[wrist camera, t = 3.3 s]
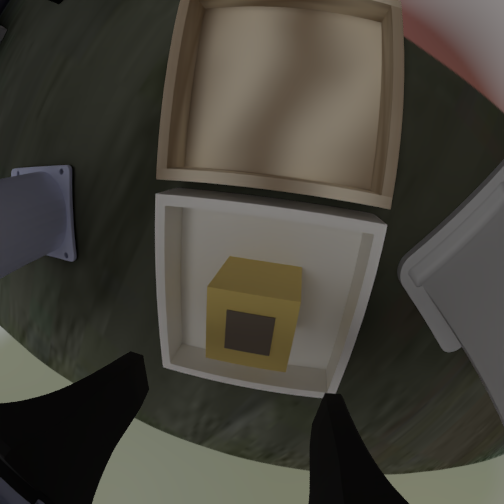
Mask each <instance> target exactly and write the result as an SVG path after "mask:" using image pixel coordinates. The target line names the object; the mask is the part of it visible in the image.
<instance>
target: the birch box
mask: <svg viewBox="0 0 504 504" xmlns="http://www.w3.org/2000/svg"><path fill="white" fill-rule="evenodd" d="M403 96H404V37H403V20H402V8H401V1H399V0H180V3H179V8H178V12H177V17H176V21H175V26H174V31H173V36H172V42H171V47H170V53H169V59H168V65H167V71H166V78H165V86H164V93H163V101H162V110H161V120H160V130H159V142H158V156H157V173H156V179H162V180H177V181H190V182H202V183H213V184H223V185H233V186H242V187H251V188H260V189H268V190H275V191H283V192H290V193H297V194H304V195H311V196H318V197H324V198H330V199H336V200H342V201H348V202H354V203H359V204H365V205H370V206H375V207H381V208H386V209H391V203H392V198H393V192H394V185H395V179H396V172H397V164H398V157H399V148H400V138H401V127H402V114H403Z"/></svg>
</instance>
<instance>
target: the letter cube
mask: <svg viewBox="0 0 504 504" xmlns="http://www.w3.org/2000/svg"><path fill="white" fill-rule="evenodd" d="M301 288H302V267H299V266H292V265H285V264H279V263H272V262H266V261H259V260H253V259H246V258H240V257H233V256H229V257H228V259H227V260H226V262H225V263H224V264H223V266H222V267H221V268H220V270H219V271H218V272H217V274H216V275H215V277H214V278H213V279H212V281H211V282H210V283H209V285H208V286H207V307H206V358H210V359H215V360H219V361H224V362H229V363H234V364H239V365H244V366H249V367H255V368H261V369H266V370H273V371H279V372H286V369H287V365H288V360H289V356H290V352H291V347H292V343H293V338H294V334H295V329H296V324H297V320H298V315H299V310H300V305H301Z"/></svg>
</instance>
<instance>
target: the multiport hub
mask: <svg viewBox="0 0 504 504" xmlns="http://www.w3.org/2000/svg"><path fill="white" fill-rule="evenodd" d="M50 1H52V2H55V3H57V4H60V3H61V2H62V1H63V0H50Z"/></svg>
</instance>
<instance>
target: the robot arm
mask: <svg viewBox="0 0 504 504" xmlns="http://www.w3.org/2000/svg"><path fill="white" fill-rule="evenodd" d="M44 255H48V256H51V257H55V258H59V259H63V260H67V261H70V262H73V261H75V260H76V258H77V255H76V246H75V235H74V221H73V201H72V168H71V166H70V165H55V166H38V167H24V168H14V169H13V170H12V172H11V177H8V178H3V179H0V278H2V277H4V276H6V275H8V274H10V273H11V272H13V271H15V270H17V269H19V268H21V267H23V266H25V265H27V264H29V263H31V262H32V261H34V260H36V259H38V258H40V257H42V256H44ZM148 390H149V386H148V381H147V376H146V370H145V364H144V358H143V355H140V354H137V353H134V352H131V351H130V352H129V353H127V354H125V355H123V356H122V357H120V358H118V359H117V360H115V361H113V362H112V363H110V364H108V365H107V366H105V367H103V368H102V369H100V370H98V371H96V372H95V373H93V374H91V375H89V376H87V377H85V378H83V379H81V380H79V381H77V382H75V383H73V384H71V385H69V386H67V387H65V388H62V389H60V390H57V391H55V392H52V393H49V394H46V395H43V396H40V397H35V398H32V399H28V400H23V401H17V402H10V403H0V504H92V501H93V498H94V495H95V492H96V489H97V487H98V484H99V481H100V479H101V476H102V474H103V471H104V469H105V467H106V465H107V463H108V460H109V458H110V456H111V454H112V452H113V450H114V448H115V447H116V445H117V443H118V442H119V440H120V438H121V437H122V436H123V434H124V433H125V431H126V430H127V428H128V426H129V425H130V423H131V422H132V420H133V419H134V417H135V416H136V414H137V413H138V411H139V409H140V408H141V406H142V404H143V401H144V399H145V397H146V395H147V393H148ZM309 504H409V503H408V502H407V501H406V500H405V499H404V498H403V497H402V496H401V495H400V494H399V492H397V490H396V489H395V488H394V487H393V486H392V485H391V484H390V482H389V481H388V480H387V478H386V477H385V476H384V474H383V473H382V471H381V470H380V469H379V467H378V466H377V464H376V463H375V461H374V460H373V458H372V456H371V455H370V453H369V451H368V450H367V448H366V446H365V444H364V442H363V441H362V439H361V437H360V435H359V433H358V431H357V429H356V427H355V425H354V423H353V420H352V418H351V416H350V414H349V412H348V409H347V407H346V404H345V402H344V400H343V397H342V395H341V394H333V393H325V394H324V396H323V399H322V401H321V404H320V406H319V409H318V411H317V414H316V416H315V418H314V421H313V423H312V430H311V439H310V494H309Z"/></svg>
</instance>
